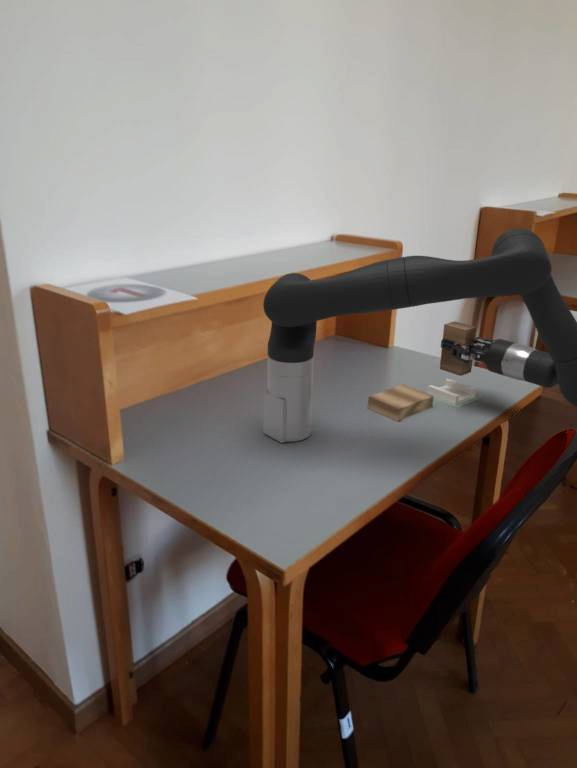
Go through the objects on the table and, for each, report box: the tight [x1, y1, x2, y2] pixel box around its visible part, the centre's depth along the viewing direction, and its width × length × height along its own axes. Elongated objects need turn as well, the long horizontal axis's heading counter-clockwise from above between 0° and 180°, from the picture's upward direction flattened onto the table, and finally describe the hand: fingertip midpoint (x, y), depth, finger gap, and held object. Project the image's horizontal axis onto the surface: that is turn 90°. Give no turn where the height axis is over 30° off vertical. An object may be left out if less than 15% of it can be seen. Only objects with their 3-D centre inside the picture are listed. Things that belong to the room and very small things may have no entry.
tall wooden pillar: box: [439, 320, 477, 377], centre depth 148 cm, size 4×6×11 cm, turn 40°
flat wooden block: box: [367, 383, 434, 422], centre depth 146 cm, size 12×9×3 cm
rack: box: [426, 378, 477, 406], centre depth 153 cm, size 8×8×2 cm
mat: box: [426, 391, 480, 408], centre depth 153 cm, size 9×10×1 cm
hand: (448, 341), depth 150 cm, fingers closed on tall wooden pillar, 4 cm apart
